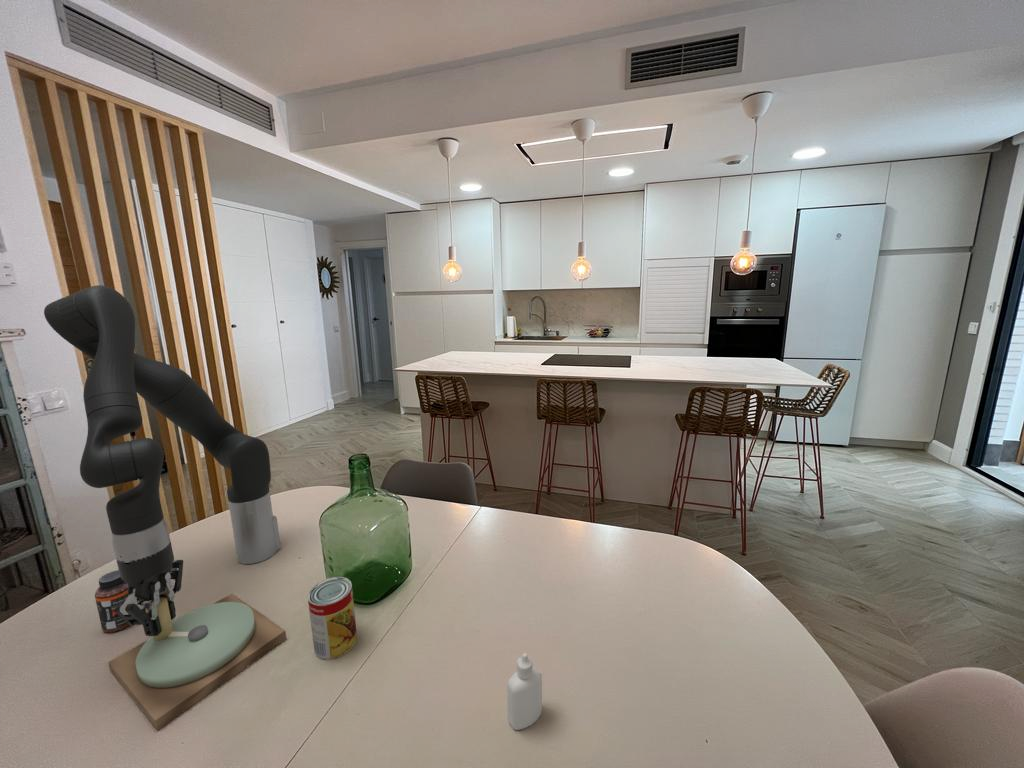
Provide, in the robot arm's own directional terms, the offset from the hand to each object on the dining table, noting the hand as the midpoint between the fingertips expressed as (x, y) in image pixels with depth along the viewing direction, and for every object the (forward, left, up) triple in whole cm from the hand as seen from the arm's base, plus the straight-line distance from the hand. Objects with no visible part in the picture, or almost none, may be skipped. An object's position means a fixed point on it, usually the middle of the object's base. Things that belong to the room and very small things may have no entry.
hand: (161, 626), depth 79 cm
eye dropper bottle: (-25, +66, -6) cm, 71 cm away
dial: (-3, +6, -4) cm, 8 cm away
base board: (-3, +6, -6) cm, 9 cm away
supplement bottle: (+2, -18, -6) cm, 19 cm away
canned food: (-18, +26, -6) cm, 33 cm away
